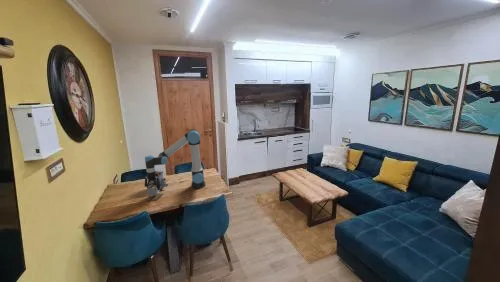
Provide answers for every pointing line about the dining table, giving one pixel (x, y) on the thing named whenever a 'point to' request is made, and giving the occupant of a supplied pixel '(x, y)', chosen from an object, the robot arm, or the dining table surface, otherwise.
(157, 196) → the peg on base
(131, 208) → the dining table surface
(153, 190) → the hollow square steel tube
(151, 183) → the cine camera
